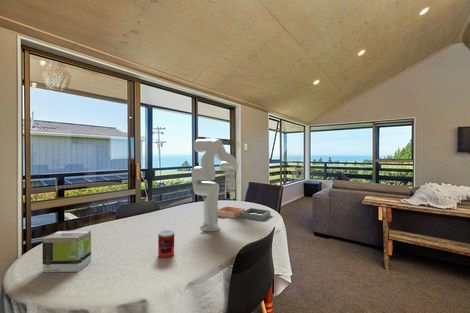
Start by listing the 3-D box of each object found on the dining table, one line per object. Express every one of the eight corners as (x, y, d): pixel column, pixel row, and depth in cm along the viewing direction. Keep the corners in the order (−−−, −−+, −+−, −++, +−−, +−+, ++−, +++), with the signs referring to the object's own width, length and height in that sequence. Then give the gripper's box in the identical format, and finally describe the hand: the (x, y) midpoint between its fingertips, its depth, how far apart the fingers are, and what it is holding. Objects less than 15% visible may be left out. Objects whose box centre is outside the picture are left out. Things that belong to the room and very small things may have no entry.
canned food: (168, 250, 122) (168, 229, 122) (177, 254, 117) (177, 232, 117) (154, 254, 116) (155, 232, 116) (164, 259, 111) (164, 236, 111)
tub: (233, 219, 179) (234, 213, 179) (214, 216, 188) (214, 210, 188) (244, 214, 195) (244, 208, 195) (226, 211, 203) (226, 205, 203)
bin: (261, 222, 173) (261, 215, 173) (240, 218, 182) (240, 212, 182) (270, 216, 189) (270, 210, 189) (250, 213, 198) (250, 207, 197)
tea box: (91, 261, 108) (91, 230, 108) (78, 272, 98) (78, 237, 98) (58, 261, 108) (58, 230, 107) (41, 273, 98) (41, 237, 97)
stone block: (231, 199, 187) (231, 191, 187) (225, 198, 190) (225, 191, 190) (234, 198, 192) (235, 190, 192) (228, 197, 195) (228, 190, 195)
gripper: (228, 177, 181) (228, 200, 182) (239, 175, 196) (239, 196, 197) (220, 176, 185) (220, 199, 185) (231, 175, 200) (231, 195, 200)
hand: (230, 197), depth 191 cm, fingers closed on stone block, 6 cm apart
